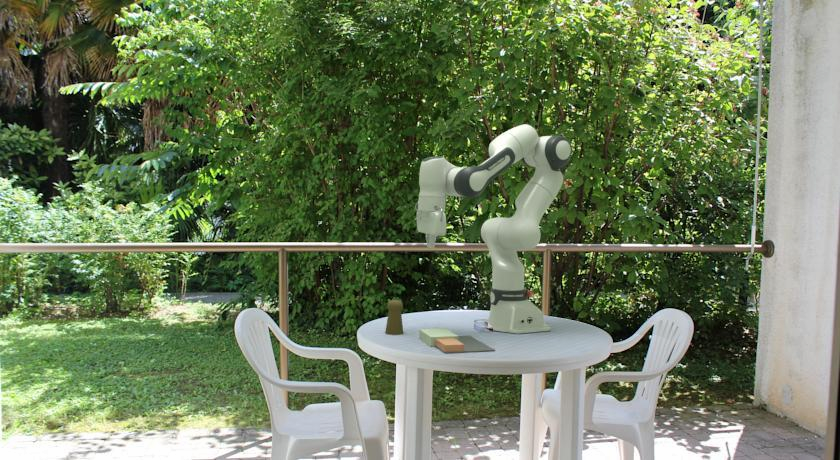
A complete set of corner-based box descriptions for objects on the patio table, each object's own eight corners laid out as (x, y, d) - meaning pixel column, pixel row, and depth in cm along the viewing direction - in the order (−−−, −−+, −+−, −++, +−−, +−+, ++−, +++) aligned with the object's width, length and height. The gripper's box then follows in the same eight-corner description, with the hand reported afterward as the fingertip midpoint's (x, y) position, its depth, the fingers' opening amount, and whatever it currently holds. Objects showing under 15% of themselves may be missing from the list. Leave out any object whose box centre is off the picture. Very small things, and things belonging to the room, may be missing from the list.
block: (453, 344, 223) (453, 338, 223) (463, 351, 214) (464, 344, 214) (435, 345, 221) (435, 338, 221) (445, 351, 213) (445, 345, 212)
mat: (469, 336, 237) (469, 335, 237) (495, 351, 217) (495, 349, 217) (423, 338, 232) (423, 337, 232) (445, 353, 212) (445, 352, 212)
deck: (445, 337, 235) (445, 328, 235) (457, 345, 224) (458, 335, 223) (418, 338, 232) (419, 329, 232) (430, 346, 221) (430, 337, 221)
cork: (399, 335, 236) (400, 302, 236) (382, 333, 238) (383, 300, 238) (405, 332, 242) (406, 299, 241) (389, 330, 244) (390, 298, 243)
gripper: (451, 207, 226) (450, 250, 227) (431, 204, 245) (430, 245, 246) (432, 206, 224) (431, 250, 225) (413, 204, 243) (412, 245, 244)
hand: (430, 247), depth 236 cm, fingers closed
